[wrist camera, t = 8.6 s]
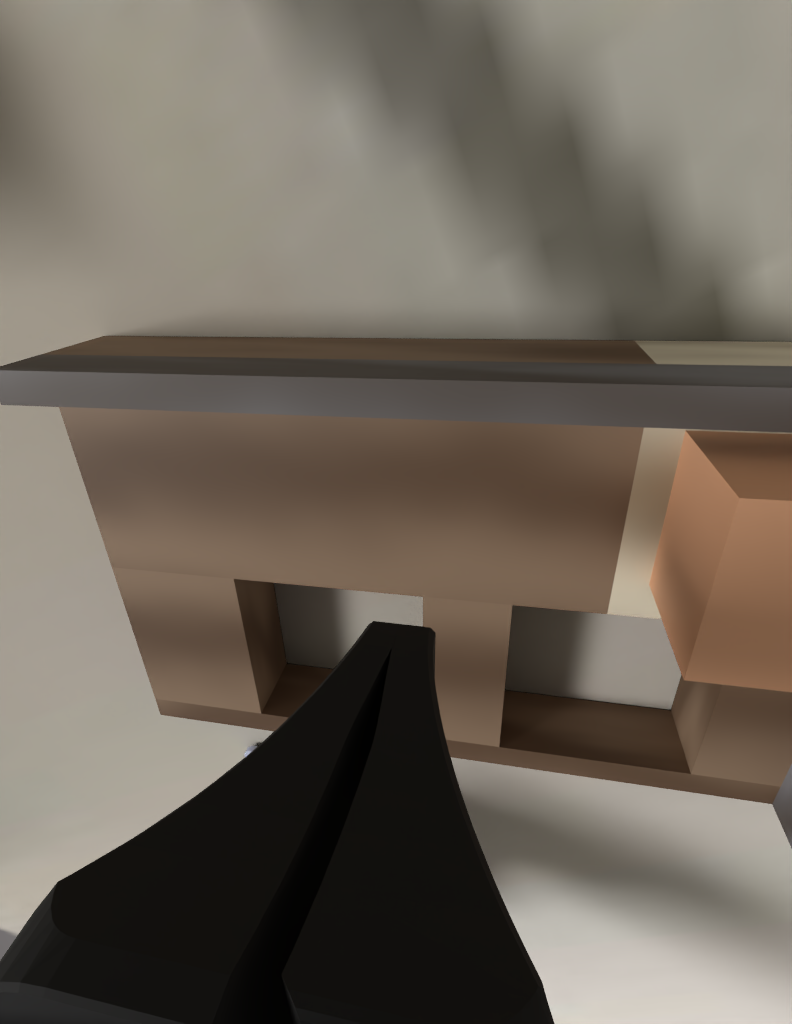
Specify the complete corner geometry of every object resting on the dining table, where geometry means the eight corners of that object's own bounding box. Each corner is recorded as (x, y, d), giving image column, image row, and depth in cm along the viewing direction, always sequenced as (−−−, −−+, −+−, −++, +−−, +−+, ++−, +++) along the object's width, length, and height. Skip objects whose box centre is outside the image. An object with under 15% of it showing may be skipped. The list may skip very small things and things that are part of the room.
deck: (769, 740, 22) (829, 864, 18) (194, 667, 27) (134, 752, 23) (943, 343, 15) (1117, 395, 11) (104, 335, 20) (-12, 369, 15)
